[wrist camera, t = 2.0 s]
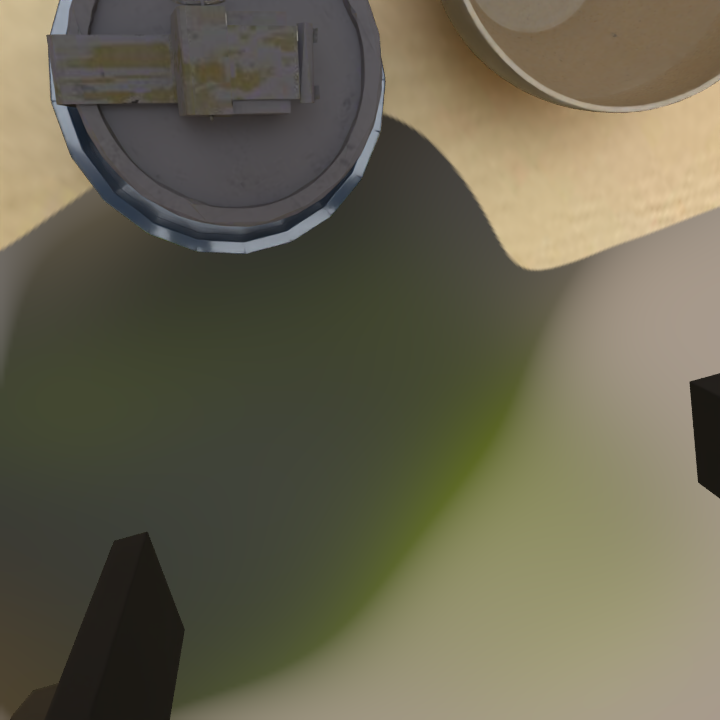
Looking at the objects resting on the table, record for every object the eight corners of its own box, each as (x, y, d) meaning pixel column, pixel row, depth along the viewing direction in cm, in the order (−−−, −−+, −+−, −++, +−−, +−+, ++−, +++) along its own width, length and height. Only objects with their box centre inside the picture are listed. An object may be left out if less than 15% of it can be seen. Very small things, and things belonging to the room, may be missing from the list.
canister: (315, -7, 38) (403, -136, 19) (321, 185, 41) (401, 231, 23) (112, -10, 36) (-6, -156, 18) (136, 191, 40) (59, 246, 21)
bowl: (189, 290, 42) (185, 310, 38) (3, 35, 36) (-30, 22, 32) (414, 145, 42) (438, 147, 37) (264, -136, 36) (271, -176, 31)
